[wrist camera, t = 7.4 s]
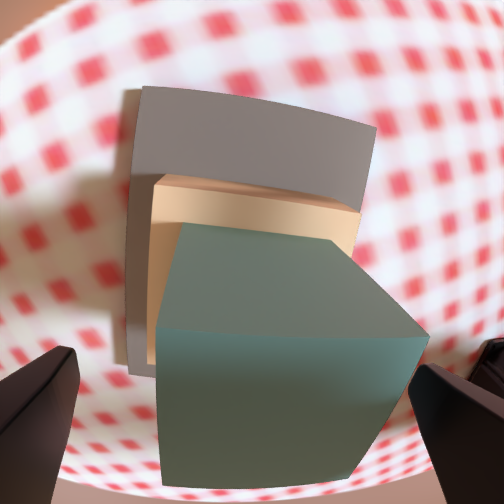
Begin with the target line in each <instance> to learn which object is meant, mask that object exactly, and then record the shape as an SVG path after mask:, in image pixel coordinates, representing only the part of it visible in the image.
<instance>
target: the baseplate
mask: <svg viewBox="0 0 504 504" xmlns="http://www.w3.org/2000/svg"><path fill="white" fill-rule="evenodd" d="M376 130H377V128H376V127H373V126H370V125H366V124H363V123H359V122H356V121H352V120H349V119H345V118H341V117H338V116H334V115H330V114H326V113H322V112H318V111H314V110H309V109H305V108H301V107H296V106H291V105H287V104H282V103H277V102H272V101H266V100H261V99H255V98H249V97H243V96H237V95H230V94H223V93H216V92H208V91H199V90H190V89H180V88H168V87H155V86H143V87H142V92H141V98H140V104H139V111H138V117H137V124H136V131H135V139H134V147H133V155H132V165H131V175H130V186H129V198H128V213H127V231H126V262H125V308H126V338H127V357H128V371H129V374H130V375H137V376H145V377H153V378H156V365H152V364H147V287H148V262H149V244H150V229H151V216H152V204H153V193H154V185H155V184H156V183H157V182H158V181H159V180H160V179H161V178H162V177H163V176H165V175H166V174H174V175H183V176H192V177H200V178H209V179H217V180H224V181H232V182H239V183H246V184H253V185H260V186H267V187H274V188H280V189H286V190H292V191H299V192H304V193H310V194H316V195H322V196H327V197H332V198H334V199H336V200H338V201H340V202H341V203H343V204H345V205H347V206H349V207H350V208H352V209H354V210H356V211H358V212H359V213H360V210H361V205H362V201H363V196H364V192H365V187H366V182H367V178H368V173H369V168H370V163H371V158H372V152H373V147H374V141H375V136H376Z"/></svg>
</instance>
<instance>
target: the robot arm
mask: <svg viewBox="0 0 504 504" xmlns="http://www.w3.org/2000/svg"><path fill="white" fill-rule="evenodd" d="M79 384H80V372H79V367H78V361H77V356H76V352H75V350H74V349H73V348H70V347H65V346H57V347H55V348H53V349H52V350H50V351H48V352H47V353H45V354H43V355H42V356H40V357H38V358H37V359H35V360H33V361H32V362H30V363H29V364H27V365H25V366H24V367H22V368H20V369H19V370H17V371H16V372H14V373H12V374H11V375H9V376H8V377H6V378H4V379H3V380H1V381H0V504H51V500H52V496H53V491H54V488H55V484H56V480H57V476H58V473H59V469H60V465H61V462H62V458H63V455H64V451H65V448H66V445H67V441H68V437H69V433H70V428H71V423H72V418H73V413H74V408H75V403H76V398H77V393H78V389H79ZM408 395H409V398H410V401H411V404H412V407H413V410H414V413H415V417H416V420H417V423H418V427H419V430H420V433H421V436H422V438H423V441H424V444H425V446H426V449H427V451H428V454H429V456H430V459H431V461H432V464H433V467H434V469H435V471H436V474H437V477H438V480H439V483H440V485H441V488H442V491H443V493H444V496H445V499H446V502H447V504H504V339H497V340H492V341H490V343H489V344H488V345H487V347H486V349H485V351H484V353H483V355H482V357H481V359H480V361H479V363H478V365H477V366H476V368H475V370H474V372H473V374H472V375H471V377H470V379H469V381H467V380H465V379H463V378H461V377H459V376H457V375H455V374H453V373H451V372H449V371H447V370H445V369H443V368H442V367H440V366H438V365H436V364H434V363H425V364H421V365H420V366H419V367H418V368H417V370H416V372H415V374H414V376H413V378H412V380H411V382H410V384H409V386H408Z"/></svg>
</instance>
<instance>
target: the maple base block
mask: <svg viewBox="0 0 504 504" xmlns="http://www.w3.org/2000/svg"><path fill="white" fill-rule="evenodd" d="M361 216H362V214H361V213H359V212H358V211H356V210H354V209H352V208H350V207H349V206H347V205H345V204H343V203H341V202H340V201H338V200H336V199H334V198H332V197H327V196H322V195H316V194H310V193H304V192H299V191H292V190H286V189H280V188H274V187H267V186H260V185H253V184H246V183H239V182H232V181H224V180H217V179H209V178H200V177H192V176H183V175H174V174H166V175H165V176H163V177H162V178H161V179H160V180H159V181H158V182H157V183H156V184H155V185H154V193H153V204H152V216H151V229H150V244H149V262H148V287H147V364H152V365H156V361H155V333H156V323H157V319H158V314H159V310H160V306H161V302H162V298H163V294H164V290H165V286H166V282H167V278H168V275H169V271H170V267H171V263H172V260H173V256H174V252H175V249H176V245H177V242H178V238H179V235H180V231H181V228H182V224H183V222H186V223H195V224H204V225H213V226H222V227H231V228H239V229H248V230H256V231H264V232H273V233H281V234H289V235H297V236H305V237H313V238H320V239H328V240H331V241H332V242H334V243H335V244H336V245H337V246H338V247H339V248H340V249H341V250H342V251H343V252H344V253H346V254H347V255H348V256H349V257H350V258H351V256H352V252H353V248H354V244H355V240H356V236H357V232H358V228H359V224H360V220H361Z"/></svg>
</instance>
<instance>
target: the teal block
mask: <svg viewBox="0 0 504 504" xmlns="http://www.w3.org/2000/svg"><path fill="white" fill-rule="evenodd" d="M429 338H430V336H429V335H428V334H427V333H426V332H425V331H424V329H423V328H422V327H421V326H420V325H419V324H418V323H417V322H416V321H415V320H414V319H413V318H412V317H411V316H410V315H409V314H408V313H407V312H406V311H405V310H404V309H403V308H402V307H401V306H400V305H399V304H398V303H397V302H396V301H395V300H394V299H393V298H392V297H391V296H390V295H389V294H388V293H387V292H386V291H384V290H383V289H382V288H381V287H380V286H379V285H378V284H377V283H376V282H375V281H374V280H373V279H372V278H371V277H370V276H369V275H368V274H367V273H366V272H365V271H364V270H363V269H362V268H360V267H359V266H358V265H357V264H356V263H355V262H354V261H353V260H352V259H351V258H350V257H349V256H348V255H347V254H346V253H344V252H343V251H342V250H341V249H340V248H339V247H338V246H337V245H336V244H335V243H334V242H332V241H331V240H328V239H320V238H313V237H305V236H297V235H289V234H281V233H273V232H264V231H256V230H248V229H239V228H231V227H222V226H213V225H204V224H195V223H186V222H183V224H182V228H181V231H180V235H179V238H178V242H177V245H176V249H175V252H174V256H173V260H172V263H171V267H170V271H169V275H168V278H167V282H166V286H165V290H164V294H163V298H162V302H161V306H160V310H159V314H158V319H157V323H156V333H155V361H156V403H157V424H158V440H159V454H160V466H161V477H162V485H163V486H174V487H187V488H206V489H255V488H274V487H287V486H298V485H307V484H315V483H323V482H330V481H336V480H342V479H348V478H349V477H350V475H351V474H352V472H353V471H354V470H355V468H356V467H357V465H358V464H359V463H360V461H361V460H362V458H363V457H364V455H365V454H366V452H367V451H368V449H369V448H370V446H371V445H372V443H373V442H374V440H375V439H376V437H377V435H378V434H379V432H380V431H381V429H382V427H383V426H384V424H385V423H386V421H387V419H388V418H389V416H390V414H391V412H392V411H393V409H394V407H395V405H396V404H397V402H398V400H399V398H400V397H401V395H402V393H403V391H404V389H405V387H406V385H407V384H408V382H409V380H410V378H411V376H412V374H413V372H414V370H415V368H416V366H417V364H418V362H419V360H420V358H421V356H422V353H423V351H424V349H425V347H426V345H427V343H428V340H429Z"/></svg>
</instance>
